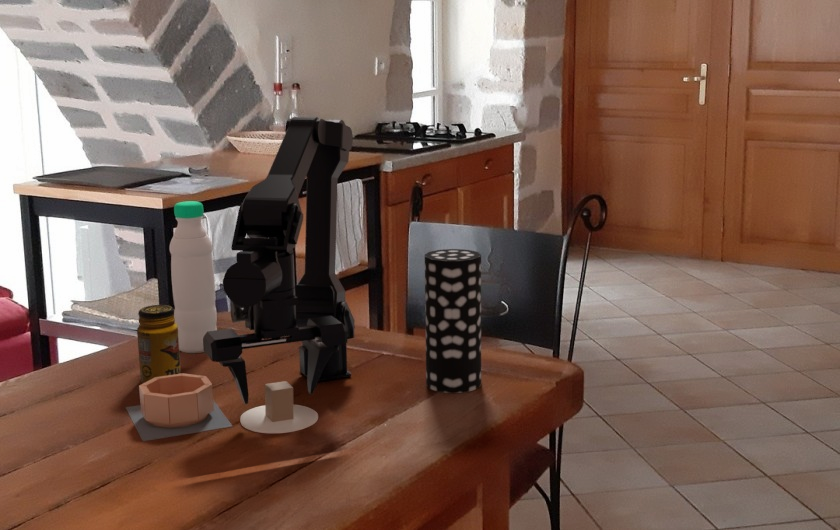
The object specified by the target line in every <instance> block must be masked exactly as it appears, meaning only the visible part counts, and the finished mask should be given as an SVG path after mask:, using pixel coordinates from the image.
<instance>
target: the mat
mask: <svg viewBox="0 0 840 530" xmlns="http://www.w3.org/2000/svg"><path fill="white" fill-rule="evenodd" d="M213 406H214V410H213V411H212V412H210V413H209V415H208V417H207V418H206V419H205V420H203V421H201V422H199V423H196V424H193V425H189V426H184V427H175V428H165V427H157V426H153V425H151V424H149V423H148V422H147V421H146V420H145V418H144V417H143V415H142V413H141V405H140V404H138V405H132V406H126V407H125V410H126V411H127V413H128V416H129V417H130V419H131V421H132V423H133V425H134V427H135V429H136V431H137V433H138V435H139V437H140V439H141V441H142V442H147V441H148V442H149V441H153V440H154V441H155V440H158V439H159V440H160V439H165V438H172V437H178V436H185V435H189V434H196V433H197V434H198V433H201V432H208V431H214V430H220V429H226V428H233V427H234V426H233V424H232V423H231V422H230V420H229V419H228V418H227V416H226V415H225V414H224V412H223V411H222V410H221V408H220V407H219V406H218V404H217V403H216V402H215V400H213Z"/></svg>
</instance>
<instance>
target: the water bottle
mask: <svg viewBox="0 0 840 530" xmlns="http://www.w3.org/2000/svg"><path fill="white" fill-rule="evenodd" d="M173 212H174V216H175V220H176V222H177V226H176V228H175V229H174V232H173V236H172V238H171V240H170V242H169V253H170V256H171V257H170V258H171V260H170V271H171V275H170V276H171V286H172V287H171V288H172V290H171V291H172V298H173V299H172V300H173V305H174V317H175V321H174V322H175V323H176V324H177V326H178V340H179V352H182V353H187V354H198V353H199V354H200V353H201V354H202V353H205V352H204V349H203V337H204V335H205V334H206V332H208V331H215V330H218V328H217V318H218V317H217V316H218V315H217V309H216V305H215V303H216V283H215V282H216V280H215V267H214V259H213V258H214V257H213V247H214V245H213V241H212V240H211V237H210V236H209V234H207V233H208V232H207V229H206V228H205V227H204V225H203V223H202V220H203V218H204V214H205V213H204V205H203V203H202V202H199V201H195V200H194V201H193V200H191V201H189V200H188V201H187V200H186V201H180V202H177V203H175V204H174V207H173Z"/></svg>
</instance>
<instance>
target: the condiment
mask: <svg viewBox="0 0 840 530" xmlns="http://www.w3.org/2000/svg"><path fill="white" fill-rule="evenodd" d="M174 310H175V308H174V307H172V306H171V305H167V304H154V305H153V304H152V305H147V306H144V307H142V308H140V309H139V310H138V327H137V328H136V334H137V348H138V360H139V361H138V362H139V374H140V375H139V376H140V382H141V384H143V383H145V382H147V381H149V380H151V379H153V378H155V377H160V376H167V375H174V374H181V358H180V350H179V340H178V326H177V324H176V323H175V317H174Z"/></svg>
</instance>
